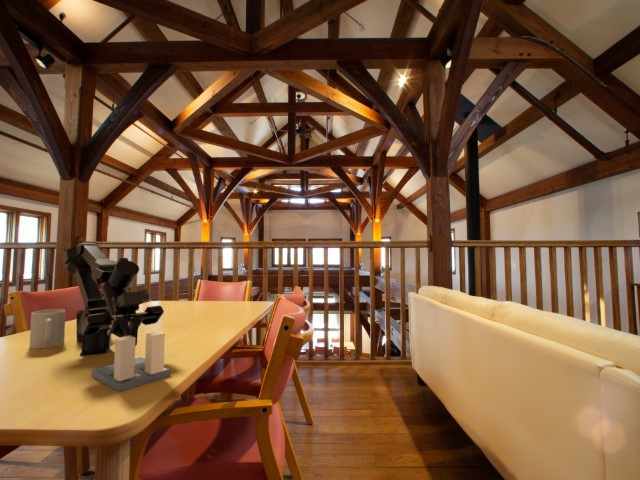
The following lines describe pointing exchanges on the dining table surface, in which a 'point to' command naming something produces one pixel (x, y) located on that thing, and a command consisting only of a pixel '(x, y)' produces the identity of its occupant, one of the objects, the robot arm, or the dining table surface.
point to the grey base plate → (139, 378)
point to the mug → (47, 328)
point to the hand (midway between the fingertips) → (134, 345)
